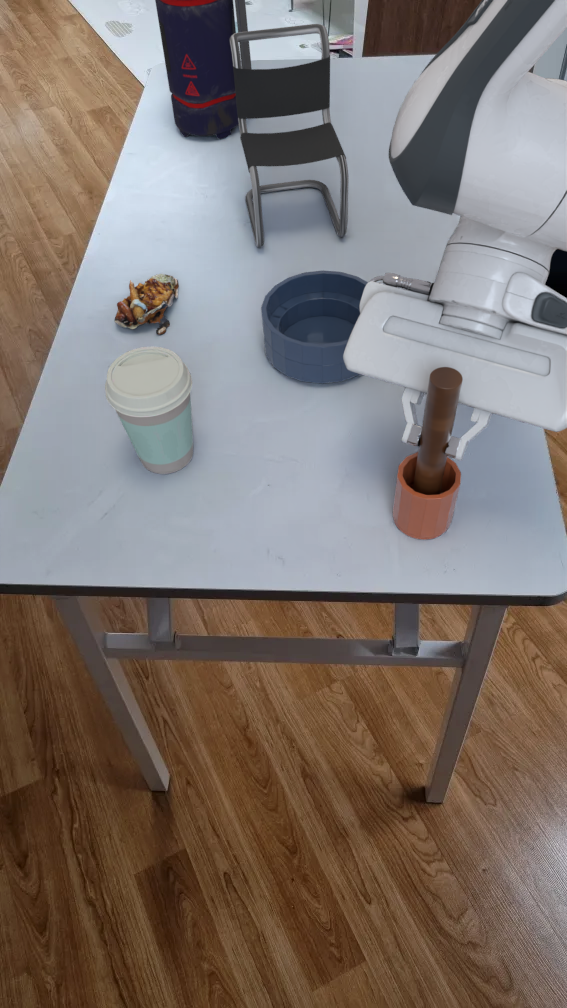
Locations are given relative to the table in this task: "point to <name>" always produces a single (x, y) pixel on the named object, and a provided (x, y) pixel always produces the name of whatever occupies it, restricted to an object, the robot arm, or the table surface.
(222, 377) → the table surface
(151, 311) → the loaded food tray
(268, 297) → the bowl
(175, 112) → the navy blue cylinder
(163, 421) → the coffee cup
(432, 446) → the brown wooden rod
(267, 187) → the chair
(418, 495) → the crock
